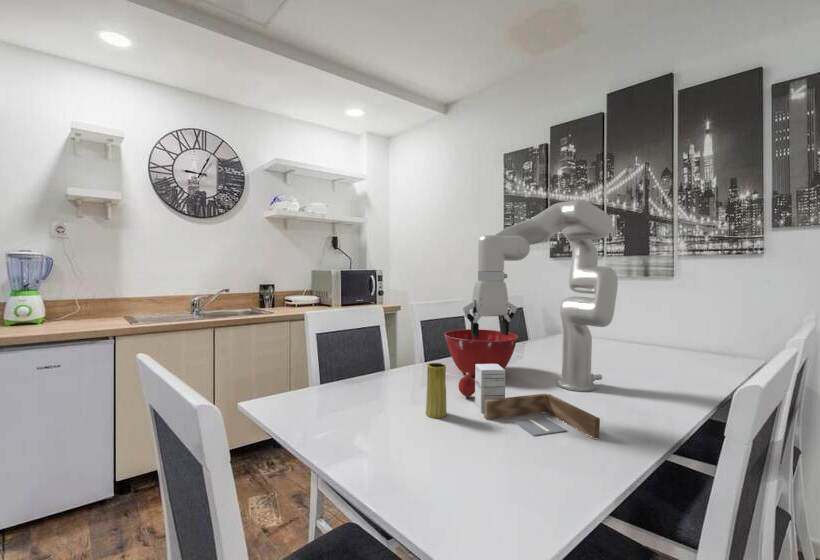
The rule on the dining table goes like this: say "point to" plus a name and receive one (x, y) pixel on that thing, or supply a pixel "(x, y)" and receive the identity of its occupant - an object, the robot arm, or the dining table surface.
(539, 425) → the pad
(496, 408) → the corner arena
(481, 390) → the supplement box
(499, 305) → the robot arm
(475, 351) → the mixing bowl
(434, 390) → the vase
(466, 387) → the red oval fruit
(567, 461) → the dining table surface
